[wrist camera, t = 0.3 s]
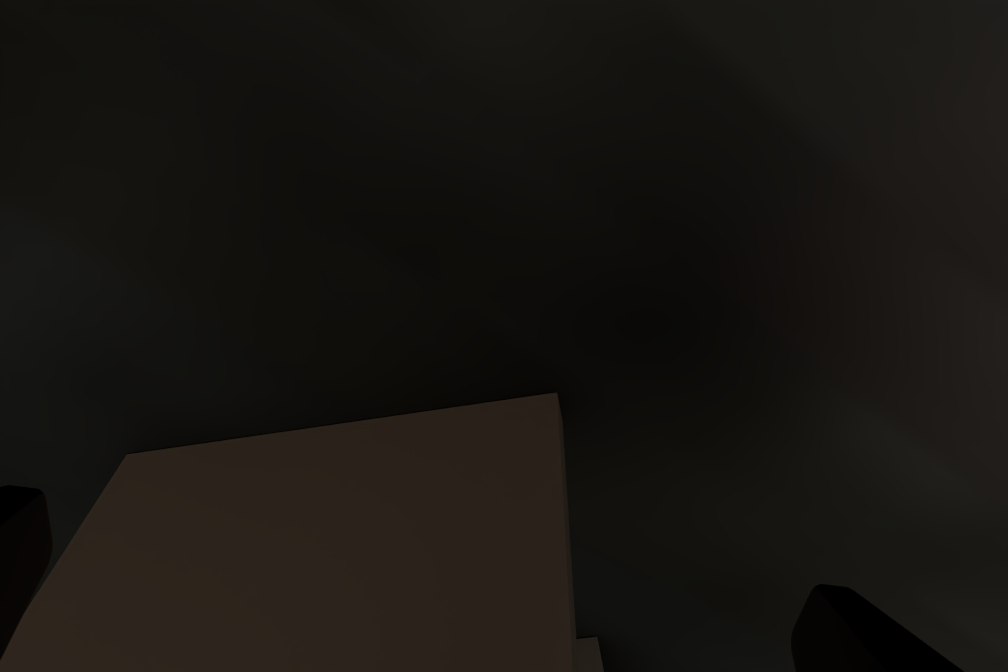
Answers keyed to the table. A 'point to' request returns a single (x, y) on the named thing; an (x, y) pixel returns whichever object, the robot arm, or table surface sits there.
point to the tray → (324, 553)
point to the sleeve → (589, 655)
